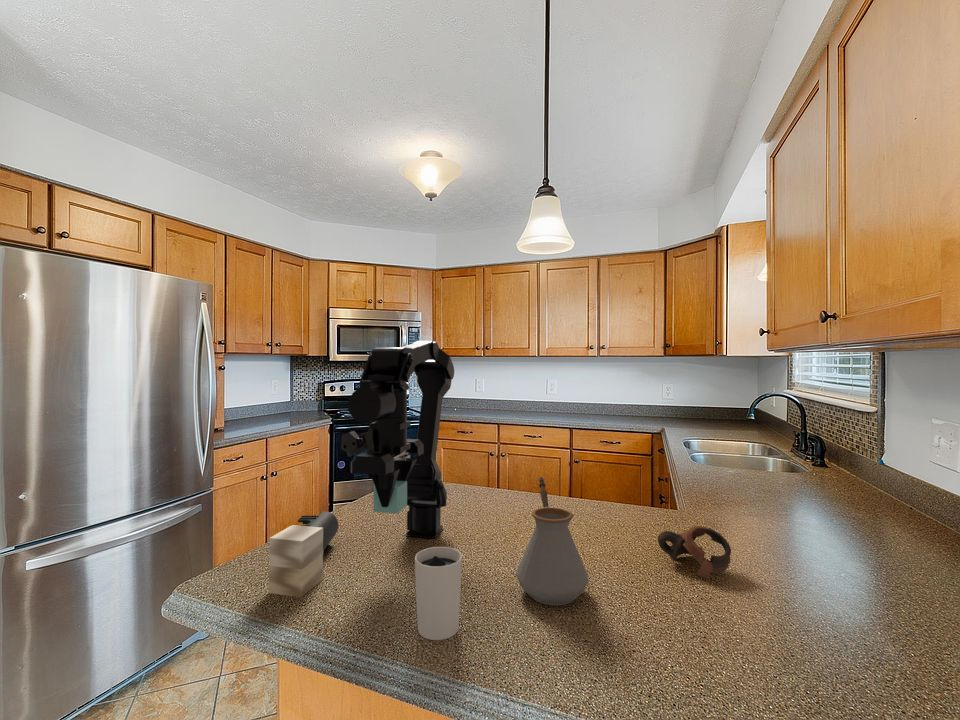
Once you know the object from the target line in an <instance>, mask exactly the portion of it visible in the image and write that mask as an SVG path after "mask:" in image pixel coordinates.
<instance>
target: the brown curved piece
mask: <svg viewBox="0 0 960 720" xmlns="http://www.w3.org/2000/svg"><path fill="white" fill-rule="evenodd" d="M704 535H707V536H709V537H710V539H711V541H713V542H714V543H715V542H716V543H718V544H719V545H721V546H722V548H723V549H724V553H723V554H722V555H713V554H712V555H711V556H710V560H709V559H707V558H705V554H706V553H705V552H706V551H704V549H703V548H702V547H701V546H698V544H697V543H696V542H695V541H696V539H697V537H698V538H699V537H703V536H704ZM667 542H670V543H671V544H672V545H669V544H668V543H667ZM657 543H658V545H659V548H660V549H661V550H662V551H663V552H664V553H665V554H667V555H668V557H670V559H671V560H672V561H673V562H675V561H676V559H677V558H678V557H679V556H681V555H690V556H692V557H693V558H694V559H695V560H696V561H697V562H698V563H699V564H700V566H699V569H698V570H697V576H698V577H701V578H703V579H708V578H709V577H711V575H717V574H720V573H721V572H722V573H723V571H726V570H727V569H728V568H729V567H730V565H729V564H730V563H731V554H732V549H731V545H730V544H729V542H728V540H726V538H725V537H724V536H723V535H722V534H720V532H717V531H715V530H714V529H712V528H709V527H706V526H703V525H697V526H696V525H695V526H692V527H690V528H689V529H686V530H684V531H682V532H681V533H679V534H678V533H677V532H674V531H672V530H664V531H662V532H661V533H659V535H658V536H657Z"/></svg>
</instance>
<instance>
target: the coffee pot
mask: <svg viewBox="0 0 960 720" xmlns="http://www.w3.org/2000/svg"><path fill="white" fill-rule="evenodd" d="M537 481H539V484H538V483H537ZM535 484H536V485H537V486H538V487H539V488H540V489H539V490H540V491H539V493H540V494H539V495H540V499H541V502H542V506H543V507H540V508H537V509H534V510H533V511H532V513H531V516H532V518H533V519H534V521H535V527H534V529H533V531H532V535H531V537H530V539H529V541H528V544H527V545H526V548H525V550H524V553H523V556H522V558H521V561H520V562H519V565H518V566H517V567H518V568H517V570H516V571H517V572H516V579H517V580H518V584H519V585H520V587H521V588H522V589H523V590H524V592H526V594H527V595H528V596H529V597H530V598H531V599H533V600H535V602H537V603H540V604H543V605H546V606H547V605H549V606H564V605H568V604H570V603H572V602H574V601H575V600H576V598H579V596H581V594H583V593H584V592H585V591H586V588H587V586H588V583H589V577H588V576H589V575H588V573H587V570H586V568H585V564H584V562H583V560H582V557H581V555H580V554H579V551H578V548H577V547H576V543H575V541H574V539H573V537H572V534H571V530H570V529H569V525H570V523H571V521H572V518H574V516H575V514H574V513H573V512H571V511H569V510H566V509H563V508H560V507H559V508H558V507H549V499H548V492H547V490H546V485H547V484H548V480H547V479H546V478H543V477H542V476H540V477H539V478H537V479H535Z"/></svg>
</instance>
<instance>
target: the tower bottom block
mask: <svg viewBox="0 0 960 720" xmlns="http://www.w3.org/2000/svg"><path fill="white" fill-rule="evenodd" d="M323 565H324V553H323V554H322V555H321V556H320V557H318V558H317V559H315V560H314V561H313V562H311V563H310V564H309V565H307V566H306V567H305V568H303V569H294V568H285V567H276V566H269V565H268V594H276V595H281V596H287V597H288V596H290V597H295V598H296V597H298V598H302V597H303V596H305V595H306V594H307V593H309V592H310V590H312V589H314V587H315V586H317V585H318V584H319V583H320V582H322V581H323V579H324V574H323V573H324V571H323V570H324V569H323V568H324V566H323Z"/></svg>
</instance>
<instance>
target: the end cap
mask: <svg viewBox="0 0 960 720" xmlns="http://www.w3.org/2000/svg"><path fill="white" fill-rule="evenodd" d="M297 523H302V524H300V525H299V524H298V525H299V526H311V527H322V528H323V552H324V551H325V549H326V548H327V546H329V544H330V542H332V540H333V538H334V537H335V536H336V534H337V533H338V530H339V521H338V519H337V517H336V516H335V515H334V514H333V513H332V512H330V511H326V510H323V511H322V512H321V513H320V514H319V515H302V516H300V517H299V518H298V519H297Z"/></svg>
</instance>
